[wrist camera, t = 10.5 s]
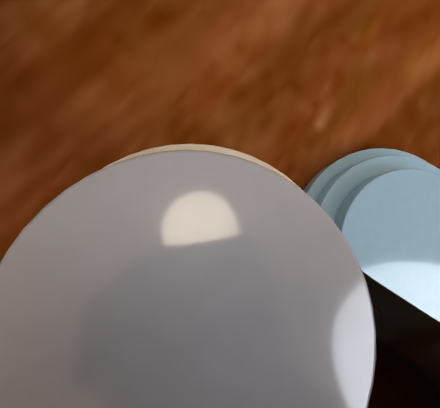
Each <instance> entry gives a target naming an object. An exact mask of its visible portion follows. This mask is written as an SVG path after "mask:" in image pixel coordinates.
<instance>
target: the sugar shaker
mask: <svg viewBox="0 0 440 408" xmlns="http://www.w3.org/2000/svg"><path fill="white" fill-rule="evenodd" d="M375 363H376V329H375V321H374V313H373V306H372V302H371V298H370V294H369V290H368V286H367V283H366V280H365V278H364V275H363V272H362V270H361V267H360V265H359V262H358V260H357V258H356V256H355V254H354V252H353V250H352V249H351V247H350V245H349V243H348V241H347V239H346V238H345V236H344V235H343V234H342V232H341V231H340V229H339V228H338V226H337V225H336V224H335V222H334V221H333V220H332V218H331V217H330V216H329V215H328V214H327V213H326V212H325V211H324V210H323V209H322V207H321V206H320V205H319V204H318V203H317V202H316V201H315V200H313V199H312V198H311V197H310V196H309V195H308V194H306V193H305V192H304V191H303V190H302V189H301V188H300V187H299V186H297V185H296V184H295V183H294V182H293V181H292V180H290V179H289V178H288V177H287V176H286V175H284V174H283V173H281V172H280V171H278V170H277V169H275V168H274V167H272V166H270V165H269V164H267V163H265V162H263V161H261V160H259V159H257V158H255V157H253V156H250V155H248V154H245V153H242V152H239V151H236V150H233V149H229V148H223V147H218V146H213V145H203V144H177V145H167V146H161V147H156V148H151V149H147V150H144V151H141V152H138V153H134V154H131V155H128V156H126V157H124V158H122V159H120V160H118V161H115V162H113V163H111V164H109V165H107V166H106V167H104V168H102V169H101V170H99V171H97V172H95V173H93V174H90V175H88V176H87V177H85V178H83V179H82V180H80V181H79V182H77V183H75V184H74V185H72V186H71V187H69V188H68V189H66V190H64V191H63V192H62V193H61V194H60V195H58V196H57V197H56V198H55V199H53V200H52V201H51V202H50V203H49V204H47V205H46V206H45V207H44V208H43V209H42V210H41V211H40V212H39V213H38V214H37V215H36V216H35V217H34V218H33V219H32V220H31V221H30V222H29V223H28V224H27V225H26V227H25V228H24V229H23V230H22V231H21V233H20V234H19V235H18V237H17V238H16V239H15V241H14V242H13V244H12V245H11V246H10V248H9V249H8V250H7V252H6V253H5V255H4V257H3V259H2V261H1V262H0V408H368V404H369V400H370V395H371V391H372V387H373V382H374V373H375Z"/></svg>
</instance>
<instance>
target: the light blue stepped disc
mask: <svg viewBox="0 0 440 408" xmlns="http://www.w3.org/2000/svg"><path fill="white" fill-rule="evenodd" d="M303 191H304V192H305V193H306V194H308V195H309V196H310V197H311V198H312V199H313V200H315V201H316V202H317V203H318V204H319V205H320V206H321V207H322V209H323V210H324V211H325V212H326V213H327V214H328V215H329V216H330V217H331V218H332V220H333V221H334V222H335V224H336V225H337V226H338V228H339V229H340V231H341V232H342V234H343V235H344V236H345V238H346V239H347V241H348V243H349V245H350V247H351V249H352V250H353V252H354V254H355V256H356V258H357V260H358V262H359V265H360V267H361V270H362V271H363V272H364V273H366V274H367V275H369V276H370V277H371V278H373V279H374V280H376V281H377V282H379V283H380V284H382V285H383V286H385V287H386V288H388V289H389V290H391V291H392V292H394V293H395V294H397V295H398V296H400V297H402V298H403V299H405V300H406V301H408V302H409V303H411V304H412V305H414V306H416V307H417V308H419V309H420V310H422V311H423V312H425V313H427V314H428V315H430V316H431V317H433V318H434V319H436V320H438V321H439V322H440V169H438V168H437V167H435V166H433V165H431V164H429V163H428V162H426V161H425V160H423V159H421V158H419V157H417V156H415V155H412V154H410V153H407V152H404V151H399V150H395V149H385V148H377V149H367V150H362V151H358V152H355V153H352V154H349V155H347V156H344V157H342V158H340V159H338V160H336V161H334V162H332V163H330V164H329V165H327V166H326V167H325V168H323V169H322V170H321V171H320V172H318V173H317V174H316V175H315V176H314V177H313V178H312V180H311V181H310V182H309V183H308V184H307V186H306V187H305V189H304V190H303Z"/></svg>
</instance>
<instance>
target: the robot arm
mask: <svg viewBox="0 0 440 408" xmlns="http://www.w3.org/2000/svg"><path fill="white" fill-rule="evenodd" d="M362 272H363V271H362ZM363 275H364V278H365V280H366V283H367V286H368V290H369V294H370V298H371V302H372V306H373V313H374V321H375V329H376V363H375V373H374V382H373V387H372V391H371V395H370V400H369V404H368V408H440V322H439V321H438V320H436V319H434V318H433V317H431V316H430V315H428V314H427V313H425V312H423V311H422V310H420V309H419V308H417V307H416V306H414V305H412V304H411V303H409V302H408V301H406V300H405V299H403V298H402V297H400V296H398V295H397V294H395V293H394V292H392V291H391V290H389V289H388V288H386V287H385V286H383V285H382V284H380V283H379V282H377V281H376V280H374V279H373V278H371V277H370V276H369V275H367V274H366V273H364V272H363Z"/></svg>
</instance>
